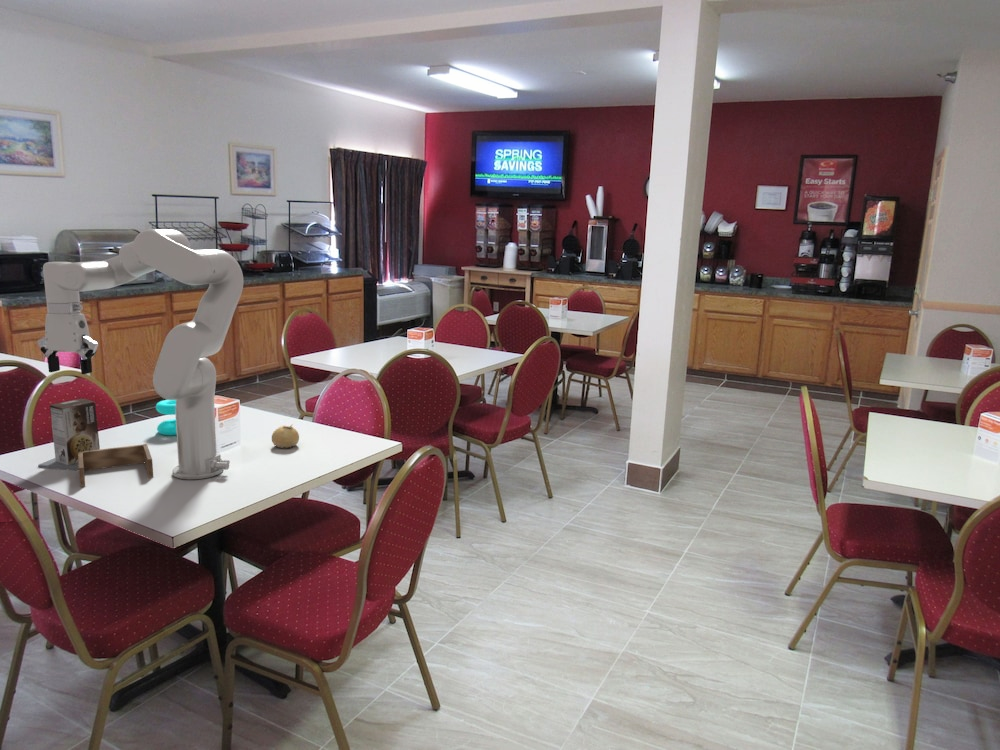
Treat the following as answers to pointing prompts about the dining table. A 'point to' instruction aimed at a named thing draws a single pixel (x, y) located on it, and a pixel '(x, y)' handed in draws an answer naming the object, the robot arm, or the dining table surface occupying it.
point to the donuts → (167, 409)
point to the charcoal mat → (59, 465)
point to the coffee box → (74, 429)
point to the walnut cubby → (114, 459)
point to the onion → (285, 436)
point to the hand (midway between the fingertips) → (70, 372)
